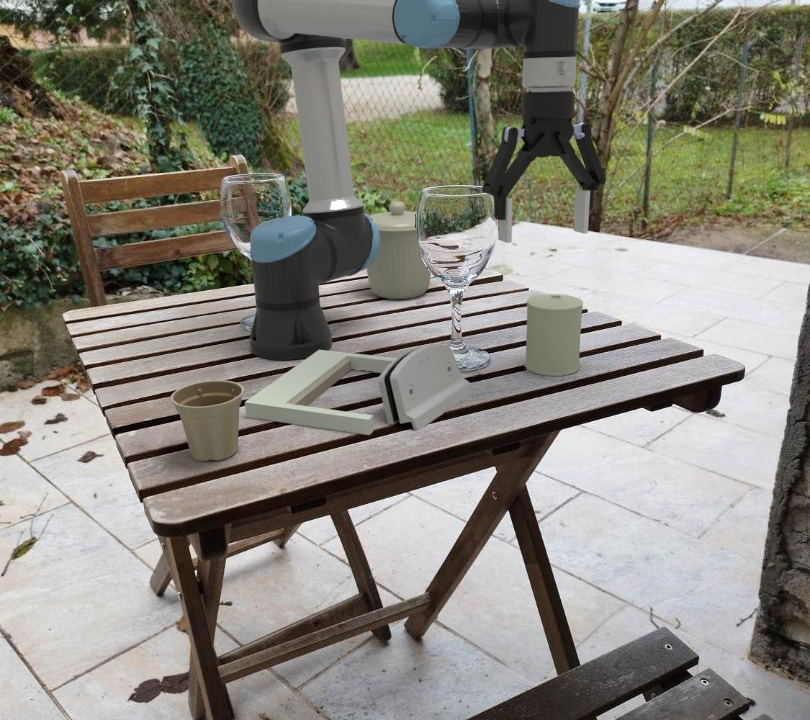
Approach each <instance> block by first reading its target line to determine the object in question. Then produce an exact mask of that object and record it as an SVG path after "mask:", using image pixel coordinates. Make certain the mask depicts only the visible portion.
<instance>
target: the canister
mask: <svg viewBox="0 0 810 720" xmlns="http://www.w3.org/2000/svg"><path fill="white" fill-rule="evenodd" d="M388 207H389V208H388V209H389V211H385V212H378V213H373V214H368V215H369V216H370V217H371V218H372V219H373V220H372V222H373V223H376V225H377V228H378V231H379V237H380V245H379V251H378V254H377V256H376V258H375V260H374V261H373V262H372V264H371V265H370V266H369V267H368V268H366V269H365V270H366V274H367V279H368V284H369V288H370V289H371V291H372V293H374V295H376V296H378V297H380V298H382V299H389V300H405V299H407V300H408V299H412V298H416V297H419V296H421V295H424V294H426V292H427V290H428V288H429V286H430V283H431V274H432V272H431V273H430V271H429V270H428V269H427V267H426V266H425V264H424V262H423V260H422V256H421V253H420V249H419V244H418V239H417V234H416V228H415V214H416V212H417V211H406V205H405V203H404V202H402V201H400V200H396V201H392V202H391V203H390V204H389V206H388Z"/></svg>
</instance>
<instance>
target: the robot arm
mask: <svg viewBox="0 0 810 720" xmlns="http://www.w3.org/2000/svg"><path fill="white" fill-rule="evenodd" d="M580 8H581V3H580V0H232V10H233V13H234V16H235V19H236V21H237V22H238V24H239V26H240V27H241V28H242V30H243V31H244V32H246V34H247V35H249V36H251V37H252V38H254V39H257V40H260V41H262V42H267V43H278V44H279V51H280V58H282V59H283V60H284V61H285V62H286V63H288V65H289V66H290V68H291V69H290V70H291V76H292V82H293V89H294V97H295V104H296V113H297V121H298V126H299V134H300V135H299V136H300V141H301V151H302V155H303V157H302V158H303V164H304V171H305V178H306V179H305V180H306V184H307V185H306V186H307V193H308V202H307V203H306V205H305V206H304V208H303V209H302V215H289V216H287V215H286V216H285V217H277V218H272V219H269V220H266V221H263V222H261V223H259V224H257V225H256V226H255V227H254V228H253V229H252V230H251V233H250V235H249V236H250V237H249V240H250V241H249V243H250V245H249V247H250V249H249V256H250V261H251V267H252V277H253V289H254V298H255V308H256V309H255V314H254V318H253V323H252V327H251V331H250V335H249V336H250V337H249V346H250V351H251V353H252V354H253V355H254V356H256V357H259V358H262V359H267V360H276V361H277V360H278V361H291V360H299V359H307V358H308V357H310V356H311V355H312V354H314V353H315V352H317V351H318V350H326V351H329V350H330V349H331V347H332V346H333V337H332V336H333V335H332V330H331V328H330V326H329V323H328V321H327V318H326V316H325V314H324V311H323V309H322V306H321V301H320V300H321V299H320V286H319V285H321V284H324V283H328V282H331V281H334V280H338V279H341V278H344V277H352V276H354V275H356V274H358V273H360V272H362V271H365V270H367V269H366V268H368V267H369V266H370V265H371V264H372V262H373V261H374V260H375V258H376V256H377V254H378V251H379V245H380V237H379V231H378V228H377V225H376V223H373V222H372V220H373V219H372V218H371V217H370V216H369V215H370V214H368V213H366V212H365V207H364V203H363V202H362V201H361V200H360V199H358V197H356V195H355V190H354V182H353V173H352V166H351V165H352V164H351V157H350V148H349V139H348V131H347V122H346V114H345V105H344V98H343V89H342V80H341V73H340V72H341V71H340V59H341V57H343V55H344V54H345V52H346V44H345V41H346V40H347V39H349V40H358V41H359V40H360V41H367V42H368V41H369V42H377V43H378V42H380V43H388V44H398V45H399V44H400V45H407V46H408V45H409V46H411V47H414V48H419V49H423V50H424V49H425V50H427V49H428V50H434V49H461V50H470V51H484V50H490V49H491V50H492V49H493V50H494V49H505V48H506V49H507V48H515V47H516V48H522V52H523V55H522V57H523V62H522V78H521V79H522V81H521V82H522V83H521V86H522V88H524V89H526V91H525V92H523V94H522V95H521V97H522V99H521V118H522V126H521V128H517V127H513V126H504V127H503V128H502V133H501V142H500V145H499V147H498V149H497V152H496V154H495V156H494V159H493V161H492V163H491V166H490V168H489V171H488V173H487V176H486V178H485V180H484V183H483V185H482V188H481V190H482V191H481V192H483V194H488V195H490V196H492V197H493V206H494V207H493V216H494V219H495V220H497V221H498V227H497V228H498V229H497V230H498V231H497V232H498V233H497V234H498V236H497V239H498V241H501V242H503V243H508V244H509V243H512V242H513V240H512V238H513V198H512V197H508V195H509V194H510V193H511V192H512V191H513V189H514V187H515V186H516V185H517V183H518V182H519V181H520V178H521V177H522V176H523V175H524V173H525V172H526V171H527V169H528V168H529V166H530V165H531V163H532V162H534V161H535V160H536V159H537V158H541V159H542V158H548V157H559V158H560V159H561V160H562V162H563V163H564V165H565V166H566V168H567V169H568V170H569V172H570V173H571V174H572V176H573V178H574V179H575V180H576V182H577V183H578V185H579V187H581V188H575V197H574V198H575V199H574V217H573V218H574V219H573V220H574V221H573V232H576V233H580V234H585V235H586V234H589V221H590V220H589V218H590V216H589V215H590V211H592V210H593V207H594V196H595V195H594V191H597V190H599V188H600V185H605V184H606V182H607V179H606V176H605V175H606V174H605V171H604V170H603V167H602V164H601V162H600V159H599V156H598V152H597V150H596V147H595V145H594V141H593V138H592V126H591V124H590V123H589V122H576V123H575V124H573V117H574V115H575V103H576V93H575V92H574V91H573V90H572V88H573V87H575V85H576V77H577V60H578V59H577V54H578V52H577V47H578V46H577V45H578V34H579V33H578V30H579V17H580V15H579V14H580ZM572 137H573V138H574V139H575V143H576V146H577V148H578V151H579V154H580V157H581V159H582V161H581V159H580V158H579V156H578V155H577V154H576V152H577V151H576V149H575V148H574V146H573V145H572V144H571V142H570V140H571V139H572ZM520 141H522V142H523V144H522V146H521V147H520V148H519V150H518V151H517V154H516V155H517V156H516V157H515V158H514V160H513V161H512V163H511V160H512V158H513V156H514V153H515V151H516V147H517V145H518V143H519V142H520ZM510 163H511V164H510ZM509 164H510V165H509Z"/></svg>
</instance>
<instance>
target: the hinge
mask: <svg viewBox="0 0 810 720" xmlns="http://www.w3.org/2000/svg"><path fill="white" fill-rule="evenodd" d="M395 358H396V359H395V360H394V361H392V362H391V363H390V364H389V365H388V366H387V367H386V369H385V370H384V371H383V372H382V373H380V375H379V377H378V379H377V383H378V387H379V391H380V396H381V400H382V404H383V408H384V412H385V417H386V422H387V424H388V423H389V424H388V425H390V424H391V426H392V425H393V426H394V425H395V424H397V423H398V422H399V424H400V425H401V424H406V423H411V425H412V428H413V431H415V432H418V431H420V430H421V429H422V428H424V427H426V426H427V425H429V424H431V422H434V420H436V419H438V418H439V417H440V416H442V415H444V412H445V411H446V410H448V409H449V410H451V409H452V408H453V407H452V406H454V405H455V406H456V404H457V405H458V404H459V403H461V402H463V401H464V400H465V399H467V398H468V397H469V395H470V394H471V395H473V394H474V392H473V388H472V384H471V382H470V381H468V380H467V379H466V378H464V377H463V374H462V373H461V370H460V368H459V365H458V362H457V360H456V358H455V355H454V353H453V350H452V348H451V347H450V346H449V345H444V344H443V345H442V344H441V345H440V344H438V345H437V344H436V345H435V344H434V345H432V344H431V345H425V346H421V347H420V346H419V347H416V348H413V349H411V350H408V351H406V352H405V353H402V354H401V355H400V356H398V357H395ZM472 393H473V394H472ZM471 395H470V396H471ZM466 397H467V398H466ZM460 401H461V402H460ZM455 406H454V407H455ZM451 407H452V408H451ZM450 408H451V409H450ZM449 410H448V411H449ZM446 412H447V411H446ZM446 412H445V413H446Z"/></svg>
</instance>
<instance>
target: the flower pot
mask: <svg viewBox="0 0 810 720" xmlns="http://www.w3.org/2000/svg"><path fill="white" fill-rule="evenodd" d="M244 395H245V387H244V386H243V385H242V384H240V383H238V382H235V381H231V380H225V379H224V380H222V379H221V380H220V379H219V380H218V379H217V380H216V379H215V380H205V381H203V380H202V381H199V382H198V381H196V382H194V383H191V384H190V383H189V384H187V385H185V386H184V385H183V386H182V387H180V388H178V389H177V390H175V391H174V392H173V393H172V394H171V395H170V401H171V403H172V405H174V406H175V409H176V412H177V413H178V414H179V416H180V420H181V424H182V427H183V430H184V433H185V438H186V442H187V445H188V448H189V451H190V455H191V457H192V458H193V459H195V460H197V461H200V462H207V461H210V460H213V461H222V460H225V459H227V458H229V457H231V456H233V455H235V454H236V453H237V450H238V448H239V429H240V428H239V426H240V424H239V423H240V406H241V405H242V400H243V399H242V397H243V396H244Z"/></svg>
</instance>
